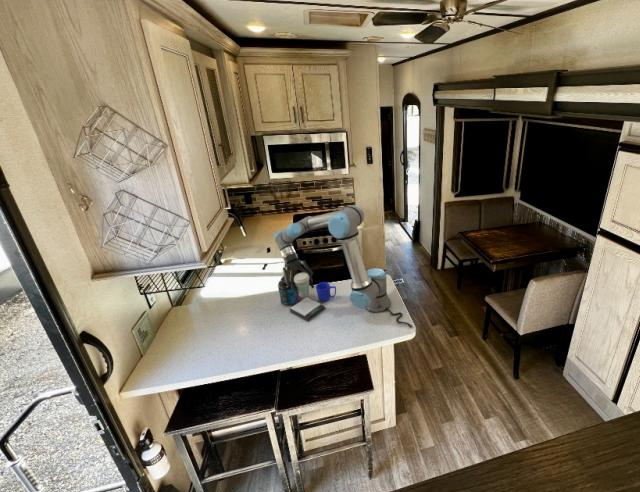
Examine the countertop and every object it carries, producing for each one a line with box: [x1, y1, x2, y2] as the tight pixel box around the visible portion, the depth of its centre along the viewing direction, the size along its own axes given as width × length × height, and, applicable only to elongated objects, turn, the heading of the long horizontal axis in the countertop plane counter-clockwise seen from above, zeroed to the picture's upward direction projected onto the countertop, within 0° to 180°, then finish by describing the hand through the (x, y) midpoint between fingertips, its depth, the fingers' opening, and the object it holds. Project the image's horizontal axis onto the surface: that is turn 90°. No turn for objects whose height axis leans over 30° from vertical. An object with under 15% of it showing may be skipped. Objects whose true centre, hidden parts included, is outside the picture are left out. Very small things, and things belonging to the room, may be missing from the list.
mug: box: [315, 281, 337, 303], centre depth 200 cm, size 8×12×10 cm
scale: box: [289, 296, 326, 322], centre depth 192 cm, size 15×13×3 cm
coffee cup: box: [294, 272, 310, 298], centre depth 186 cm, size 9×9×12 cm
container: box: [277, 274, 302, 307], centre depth 198 cm, size 12×12×17 cm
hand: (305, 290), depth 185 cm, fingers closed on coffee cup, 9 cm apart
